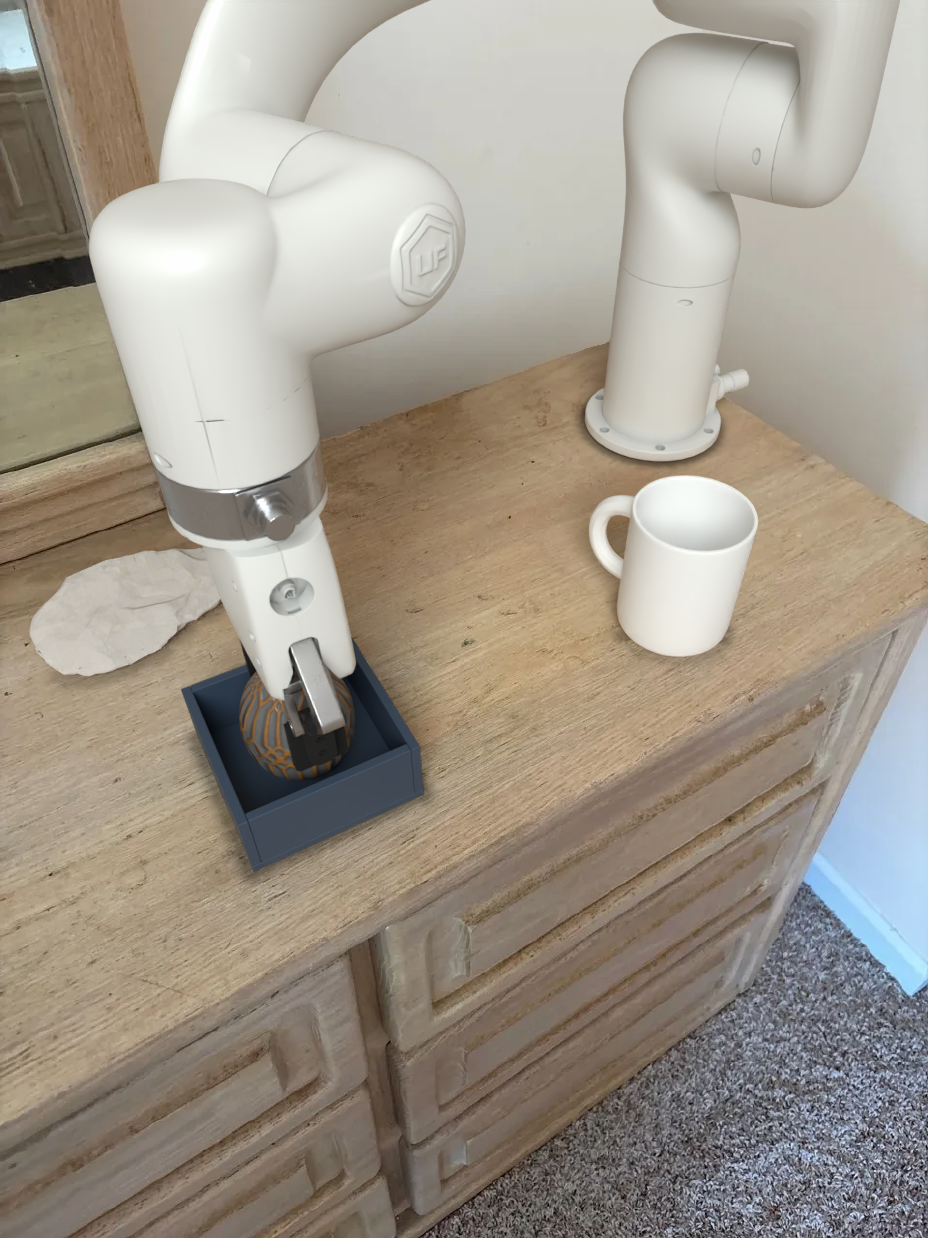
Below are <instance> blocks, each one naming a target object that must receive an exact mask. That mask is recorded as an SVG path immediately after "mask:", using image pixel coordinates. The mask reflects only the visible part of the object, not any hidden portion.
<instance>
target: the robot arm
mask: <svg viewBox="0 0 928 1238" xmlns="http://www.w3.org/2000/svg"><path fill="white" fill-rule="evenodd" d="M430 1H431V0H206V2H205V4H204V6H203V8H202V10H201V13H200V14H199V15H200V16H199V18H198V20H197V22H196V25H195V28H194V30H193V34H192V36H191V40H190V43H189V45H188V49H187V52H186V55H185V59H184V62H183V64H182V65H183V66H182V69H181V72H180V75H179V78H178V82H177V86H176V89H175V92H174V95H173V97H172V102H171V105H170V109H169V113H168V116H167V118H166V119H167V120H166V124H165V128H164V133H163V139H162V143H161V144H162V145H161V152H160V156H159V164H158V182H156V183H152V184H148V185H145V186H142V187H139V188H135V189H134V190H133V189H132V190H131V191H128V192H126V193H123V194H121V195H119V196H118V197H116V198H115V199H113V200H112V201H110V202H109V203H108V204H106V205H105V207H104V208H103V209H101V211H100V212H99V213H98V214H97V216H96V217H95V219H94V221H93V223H92V226H91V228H90V231H89V240H88V241H89V242H88V254H89V255H88V256H89V259H90V264H91V267H92V272H93V276H94V279H95V283H96V287H97V289H98V292H99V296H100V299H101V303H102V306H103V309H104V312H105V315H106V319H107V320H108V324H109V328H110V331H111V334H112V338H113V341H114V345H115V347H116V350H117V353H118V354H117V355H118V357H119V361H120V363H121V366H122V369H123V372H124V377H125V381H126V384H127V386H128V389H129V392H130V395H131V399H132V402H133V405H134V409H135V412H136V414H137V419H138V422H139V425H140V427H141V431H142V435H143V437H144V441H145V444H146V448H147V451H148V454H149V457H150V460H151V463H152V466H153V470H154V473H155V476H156V480H157V483H158V486H159V489H160V493H161V495H162V498H163V502H164V505H165V508H166V511H167V515H168V518H169V520H170V522H171V525H172V527H173V528H174V529H175V530H176V531H177V532H178V533H179V535H180V536H182V537H184V538H185V539H187V540H188V541H190V542H192V543H195V544H197V545H199V546H202V548H203V549H204V553H205V556H206V559H207V562H208V566H209V569H210V572H211V575H212V577H213V580H214V583H215V586H216V589H217V591H218V594H219V596H220V598H221V603H222V605H223V607H224V610H225V612H226V614H227V616H228V618H229V620H230V624H231V625H232V627H233V629H234V631H235V633H236V635H237V637H238V639H239V644H240V647H241V649H242V654H243V657H244V661H245V665H247V669H248V673H249V675H250V677H252V675H253V674H254V673H255V672H256V671H257V673H258V675H259V677H260V679H261V680H262V682H263V684H264V686H265V688H266V690H267V691H268V693H269V694H270V696H271V697H273V698H276V699H278V700H281V701H282V704H283V707H284V710H285V713H286V716H287V719H288V721H287V722H286V723H285V724H283V725H284V729H285V733H286V738H287V742H288V746H289V750H290V754H291V758H292V762H293V764H294V766H295V768H296V770H297V771H304V770H306V769H308V768H311V767H313V766H315V765H316V766H318V765H322V764H325V763H327V762H329V761H331V760H333V759H334V758H335V757H337V756H339V755H341V754H343V753H345V752H346V751H347V749H348V746H347V740H346V734H345V728H344V726H345V720H344V717H343V714H342V710H341V707H340V704H339V701H338V698H337V694H336V691H335V688H334V685H333V682H332V678H331V675H330V672H329V669H330V670H331V671H332V672H333V673H334V674H335V675H336V676H337V677H338V678H339V679H341V678H343V677H345V676H347V675H350V674H352V673H353V671H354V669H355V666H356V659H355V654H354V649H353V644H352V639H351V636H352V634H351V630H350V625H349V619H348V614H347V610H346V606H345V601H344V596H343V592H342V588H341V587H342V586H341V583H340V580H339V579H340V578H339V575H338V572H337V571H338V570H337V568H336V564H335V559H334V555H333V553H332V550H331V546H330V543H329V540H328V537H327V534H326V532H325V531H326V530H325V528H324V525H323V523H322V520H321V517H320V515H321V514H322V512H323V511H324V509H325V506H326V504H327V501H328V496H329V487H328V481H327V476H326V475H327V474H326V468H325V462H324V455H323V454H324V453H323V448H322V442H321V435H320V429H319V422H318V416H317V408H316V401H315V395H314V389H313V388H314V387H313V381H312V380H313V379H312V375H311V374H312V373H311V364H312V362H313V360H314V359H316V358H317V357H319V356H320V355H323V354H327V353H330V352H334V351H336V350H339V349H342V348H343V349H344V348H346V347H349V346H352V345H356V344H359V343H362V342H366V341H368V340H372V339H376V338H378V337H381V336H385V335H388V334H391V333H393V332H395V331H398V330H400V329H402V328H404V327H407V326H408V325H410V324H412V323H414V322H415V321H417V320H419V319H420V318H422V317H423V316H424V315H426V314H427V313H428V312H429V311H430V310H432V308H434V306H435V305H436V304H437V303H438V302H439V301H440V300H442V298H443V296H444V295H445V294H446V293H447V291H448V290H449V288H450V287H451V285H452V283H453V282H454V281H455V278H456V276H457V274H458V271H459V269H460V266H461V263H462V259H463V256H464V252H465V245H466V231H467V230H466V220H465V216H464V211H463V207H462V204H461V201H460V198H459V196H458V193H457V192H456V191H455V189H454V187H453V186H452V184H451V182H450V181H449V180H448V179H447V177H446V176H445V175H444V174H443V173H442V172H441V171H440V170H439V169H438V168H436V167H435V166H434V165H433V164H432V163H430V162H428V161H427V160H425V159H423V158H421V157H420V156H418V155H415V154H414V153H411V152H409V151H407V150H404V149H401V148H399V147H396V146H392V145H390V144H385V143H381V142H377V141H373V140H369V139H365V138H363V137H362V138H361V137H358V136H354V135H350V134H345V133H342V132H340V131H338V130H335V129H331V128H327V127H322V126H320V125H319V126H318V125H315V124H311V123H307V122H306V118H307V117H308V116H307V115H308V114H309V111H310V109H311V107H312V104H313V102H314V99H315V97H316V96H317V94H318V92H319V91H320V89H321V87H322V85H323V83H324V82H325V80H326V79H327V78H328V76H329V75H330V73H331V72H332V71H333V69H335V67H336V65H337V64H338V63H339V62H340V60H342V58H344V56H345V55H347V53H348V52H349V51H350V50H351V49H352V48H353V47H354V46H355V45H356V44H357V43H359V42H360V41H361V40H362V39H364V38H365V37H366V36H367V35H368V34H369V33H371V32H372V31H374V30H376V29H377V28H378V27H380V26H381V25H383V24H385V23H386V22H388V21H389V20H391V19H393V18H395V17H397V16H398V15H401V14H403V13H404V12H407V11H409V10H411V9H414V8H416V7H418V6H421V5H423V4H425V3H428V2H430ZM652 3H653V5H654V6H655V9H656V10H657V11H658V12H659V13H660V14H661V15H662V16H663V17H665V18H666V19H668V20H670V21H672V22H674V23H676V24H680V25H683V26H687V27H691V28H697V29H699V30H700V29H701V30H705V31H710V32H716V33H709V32H708V33H707V32H688V33H687V32H686V33H678V34H674V35H671V36H667V37H665V38H663V39H661V40H659V41H657V42H655V43H654V44H652V46H650V47H649V48H648V49H647V50H645V52H644V53H643V54H642V55H641V56H640V58H639V59H638V61H637V62H636V64H635V66H634V67H633V69H632V72H631V74H630V76H629V79H628V82H627V85H626V89H625V94H624V101H623V112H622V133H623V135H622V136H623V147H624V148H623V149H624V150H623V151H624V163H625V165H624V166H625V167H624V168H625V199H624V214H623V227H622V236H621V245H620V246H621V247H620V255H619V256H620V257H619V260H618V270H617V278H616V286H615V295H614V296H615V297H614V305H613V312H612V321H611V329H610V338H609V345H608V353H607V355H608V356H607V365H606V372H605V382H604V387H602V388H601V389H599V390H597V391H596V392H595V393H594V394H592V396H591V397H590V398H589V399H588V401H587V403H586V406H585V410H584V411H585V412H584V423H585V427H586V429H587V431H588V433H589V435H590V436H591V437H592V438H593V439H594V440H595V441H596V442H597V443H598V444H600V445H602V446H603V447H604V448H606V449H607V450H610V451H612V452H614V453H615V454H619V455H621V456H625V457H627V458H630V459H631V458H632V459H635V460H640V461H647V462H648V461H649V462H674V461H681V460H685V459H688V458H692V457H695V456H697V455H699V454H702V453H703V452H705V451H707V450H709V448H711V447H712V446H713V445H714V443H715V442H716V441H717V439H718V437H719V435H720V430H721V426H722V418H721V413H720V411H719V409H718V407H717V406H716V403H717V402H718V401H720V400H722V399H723V398H724V396H725V394H731V393H735V392H737V391H740V390H743V389H746V388H747V387H748V386H749V384H750V375H749V373H748V371H747V370H746V369H744V368H736V369H733V370H730V371H727V372H725V373H723V374H721V368H720V365H719V364H718V357H719V352H720V347H721V343H722V338H723V333H724V329H725V324H726V320H727V315H728V309H729V304H730V300H731V295H732V292H733V287H734V281H735V276H736V272H737V269H738V264H739V260H740V254H741V246H742V235H741V225H740V220H739V217H738V212H737V210H736V206H735V203H734V201H733V197H732V196H731V195H737V196H739V197H744V198H748V199H753V200H757V201H762V202H767V203H771V204H775V205H781V206H784V207H790V208H798V209H815V208H821V207H823V206H826V205H829V204H831V203H832V202H833V201H835V200H836V199H838V198H839V197H840V196H841V195H842V194H843V193H844V192H845V191H846V190H847V188H848V187H849V186H850V184H851V182H852V181H853V179H854V177H855V176H856V173H857V172H858V170H859V167H860V165H861V162H862V161H863V160H862V159H863V157H864V155H865V152H866V149H867V145H868V142H869V139H870V136H871V131H872V127H873V123H874V119H875V116H876V111H877V107H878V102H879V98H880V93H881V88H882V84H883V80H884V75H885V70H886V66H887V62H888V57H889V53H890V49H891V44H892V39H893V35H894V29H895V26H896V21H897V16H898V13H899V8H900V3H901V0H652ZM717 33H721V34H717ZM725 34H728V35H725ZM730 35H731V36H730ZM732 35H735V36H732ZM738 36H739V37H738ZM743 37H747V38H743ZM751 38H752V39H751ZM753 38H754V39H753ZM757 39H758V40H757ZM759 39H760V40H759ZM764 40H765V41H764ZM766 40H767V41H766ZM768 41H773V42H778V43H786V44H790V46H788V45H782V44H775V43H771V42H768ZM791 45H792V46H791ZM720 374H721V375H720ZM292 666H294V668H295V671H296V673H295V674H293V669H292ZM328 668H329V669H328ZM301 690H303V691H304V694H305V696H306V699H307V701H308V704H309V707H308V708H305V709H303V710H300V711H298V709H297V706H296V703H295V700H294V697H293V693H296V692H298V691H301Z"/></svg>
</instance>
